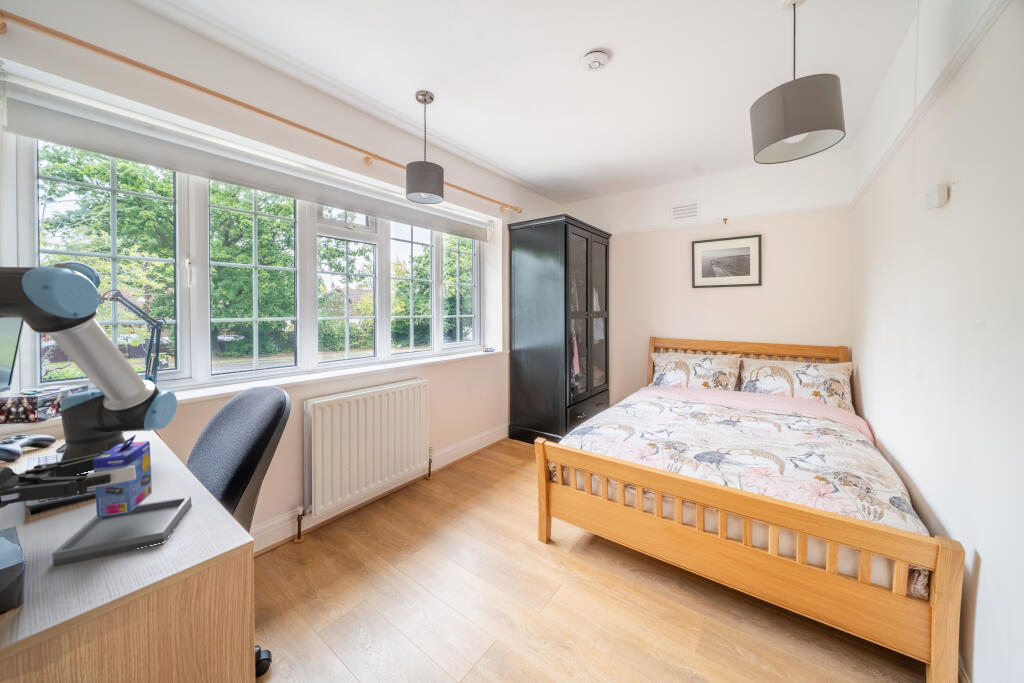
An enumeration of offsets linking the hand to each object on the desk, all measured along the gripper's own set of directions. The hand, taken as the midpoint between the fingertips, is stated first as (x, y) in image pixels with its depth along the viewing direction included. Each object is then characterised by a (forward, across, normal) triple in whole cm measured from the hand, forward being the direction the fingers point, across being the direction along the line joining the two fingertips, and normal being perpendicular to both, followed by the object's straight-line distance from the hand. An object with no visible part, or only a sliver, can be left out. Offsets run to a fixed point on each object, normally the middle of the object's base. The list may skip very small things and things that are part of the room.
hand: (141, 463), depth 81 cm
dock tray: (-3, 0, -15) cm, 15 cm away
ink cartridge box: (-3, 0, -9) cm, 9 cm away
